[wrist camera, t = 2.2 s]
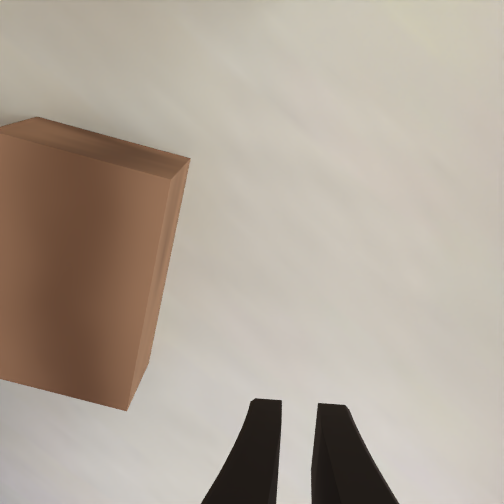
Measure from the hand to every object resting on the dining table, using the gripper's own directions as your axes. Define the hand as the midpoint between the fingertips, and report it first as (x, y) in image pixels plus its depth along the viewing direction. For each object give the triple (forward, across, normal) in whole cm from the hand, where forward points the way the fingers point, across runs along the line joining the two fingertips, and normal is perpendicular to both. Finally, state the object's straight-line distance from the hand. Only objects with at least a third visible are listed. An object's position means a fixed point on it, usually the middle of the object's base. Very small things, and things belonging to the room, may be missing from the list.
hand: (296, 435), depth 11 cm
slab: (+10, +8, 0) cm, 13 cm away
